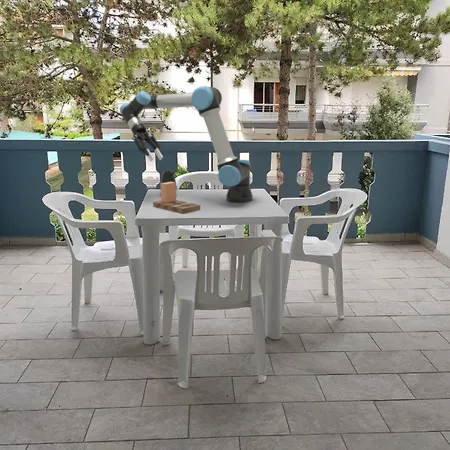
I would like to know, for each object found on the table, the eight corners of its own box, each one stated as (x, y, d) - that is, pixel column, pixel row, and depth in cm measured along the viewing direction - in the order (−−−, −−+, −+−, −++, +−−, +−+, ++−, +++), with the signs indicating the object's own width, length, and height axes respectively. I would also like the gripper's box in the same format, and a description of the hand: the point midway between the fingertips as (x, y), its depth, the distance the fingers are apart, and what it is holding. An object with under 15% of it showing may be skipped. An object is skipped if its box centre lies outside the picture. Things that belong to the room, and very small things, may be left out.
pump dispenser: (169, 197, 263) (168, 171, 259) (156, 195, 269) (155, 170, 265) (180, 194, 271) (180, 169, 267) (167, 192, 277) (166, 168, 273)
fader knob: (161, 201, 237) (160, 183, 235) (171, 199, 242) (170, 181, 240) (166, 202, 235) (165, 184, 232) (176, 200, 240) (175, 182, 237)
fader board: (153, 206, 239) (153, 201, 238) (170, 203, 247) (170, 198, 247) (182, 213, 223) (182, 208, 222) (200, 209, 231) (200, 204, 231)
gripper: (148, 131, 257) (167, 162, 251) (120, 132, 244) (140, 165, 237) (153, 122, 252) (173, 153, 246) (125, 123, 239) (145, 156, 232)
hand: (156, 159), depth 242 cm, fingers open, 6 cm apart
